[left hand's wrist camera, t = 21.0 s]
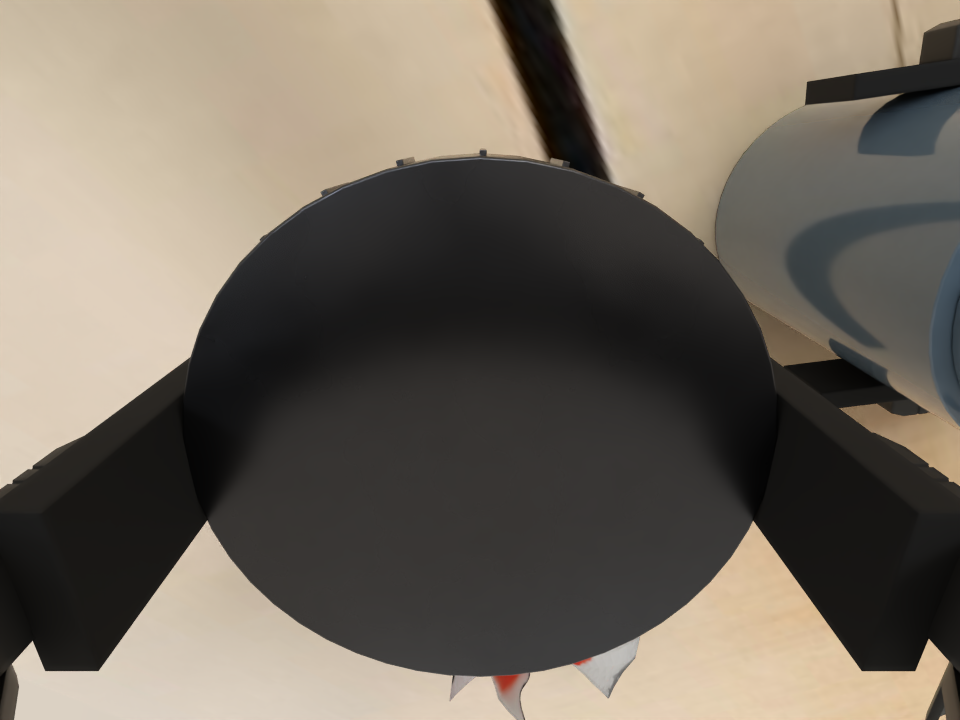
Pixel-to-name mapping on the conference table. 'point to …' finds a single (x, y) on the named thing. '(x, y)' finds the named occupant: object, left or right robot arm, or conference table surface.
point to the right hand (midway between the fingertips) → (812, 254)
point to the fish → (596, 669)
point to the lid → (480, 415)
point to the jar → (858, 236)
